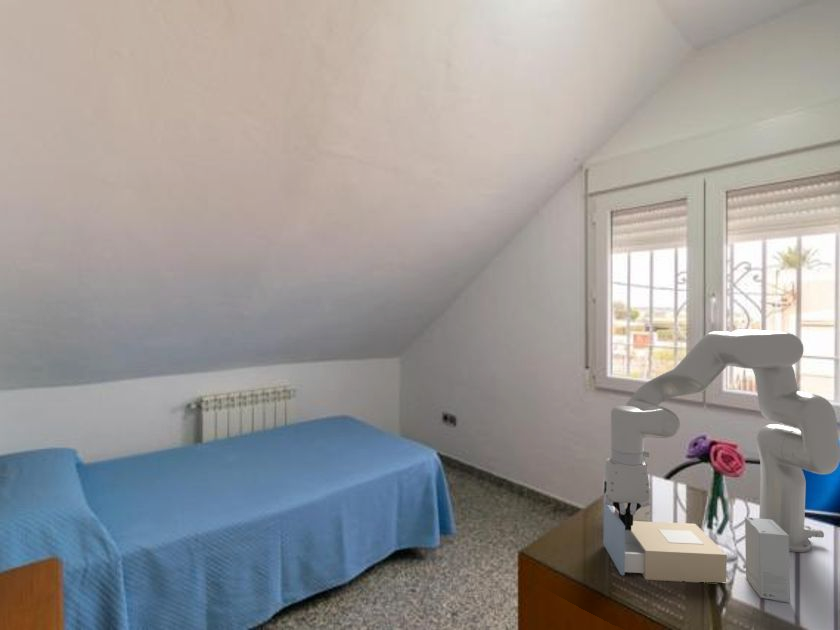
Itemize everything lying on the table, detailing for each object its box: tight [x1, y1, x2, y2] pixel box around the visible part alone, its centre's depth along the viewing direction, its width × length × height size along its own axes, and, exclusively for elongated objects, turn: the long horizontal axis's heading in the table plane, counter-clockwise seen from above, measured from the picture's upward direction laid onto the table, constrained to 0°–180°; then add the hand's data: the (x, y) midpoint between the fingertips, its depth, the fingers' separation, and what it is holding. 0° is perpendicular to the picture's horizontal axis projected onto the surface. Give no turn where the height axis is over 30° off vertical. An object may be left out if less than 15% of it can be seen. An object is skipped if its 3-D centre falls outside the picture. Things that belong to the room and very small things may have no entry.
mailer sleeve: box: [630, 521, 728, 584], centre depth 110 cm, size 18×14×7 cm
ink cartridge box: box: [614, 486, 652, 522], centre depth 129 cm, size 9×5×15 cm, turn 84°
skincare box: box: [744, 516, 791, 604], centre depth 100 cm, size 8×6×15 cm
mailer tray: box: [602, 502, 645, 576], centre depth 110 cm, size 18×13×12 cm
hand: (625, 527), depth 110 cm, fingers closed
